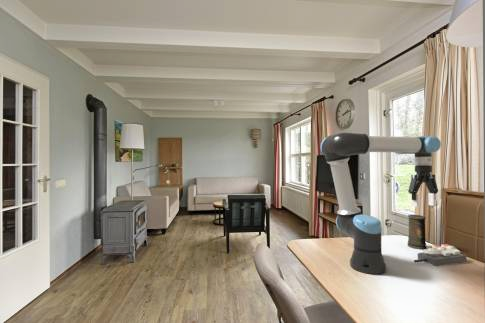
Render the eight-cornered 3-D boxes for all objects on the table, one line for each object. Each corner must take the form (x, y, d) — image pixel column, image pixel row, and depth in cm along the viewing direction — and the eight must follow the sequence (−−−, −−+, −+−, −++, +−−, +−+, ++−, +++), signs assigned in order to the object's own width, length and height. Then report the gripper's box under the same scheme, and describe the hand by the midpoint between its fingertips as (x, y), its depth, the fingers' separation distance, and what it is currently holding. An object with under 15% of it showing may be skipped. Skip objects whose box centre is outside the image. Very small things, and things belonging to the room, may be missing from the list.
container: (404, 245, 147) (404, 215, 147) (413, 243, 151) (413, 213, 151) (420, 250, 139) (420, 218, 139) (430, 248, 143) (429, 216, 143)
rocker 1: (437, 256, 119) (435, 249, 120) (424, 254, 125) (422, 248, 126) (442, 255, 120) (440, 248, 121) (429, 254, 126) (428, 247, 127)
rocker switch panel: (424, 267, 116) (424, 260, 116) (406, 260, 125) (406, 254, 125) (466, 261, 123) (466, 255, 123) (447, 255, 132) (447, 249, 132)
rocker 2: (444, 257, 122) (446, 251, 121) (431, 249, 128) (433, 244, 127) (450, 256, 123) (451, 251, 122) (436, 249, 129) (438, 243, 128)
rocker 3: (453, 256, 123) (455, 250, 122) (440, 248, 129) (442, 243, 129) (459, 255, 124) (460, 250, 123) (445, 248, 130) (447, 242, 130)
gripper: (412, 164, 127) (413, 208, 127) (446, 164, 134) (446, 205, 133) (400, 164, 135) (400, 205, 134) (432, 164, 141) (432, 203, 141)
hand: (423, 205), depth 134 cm, fingers open, 11 cm apart
